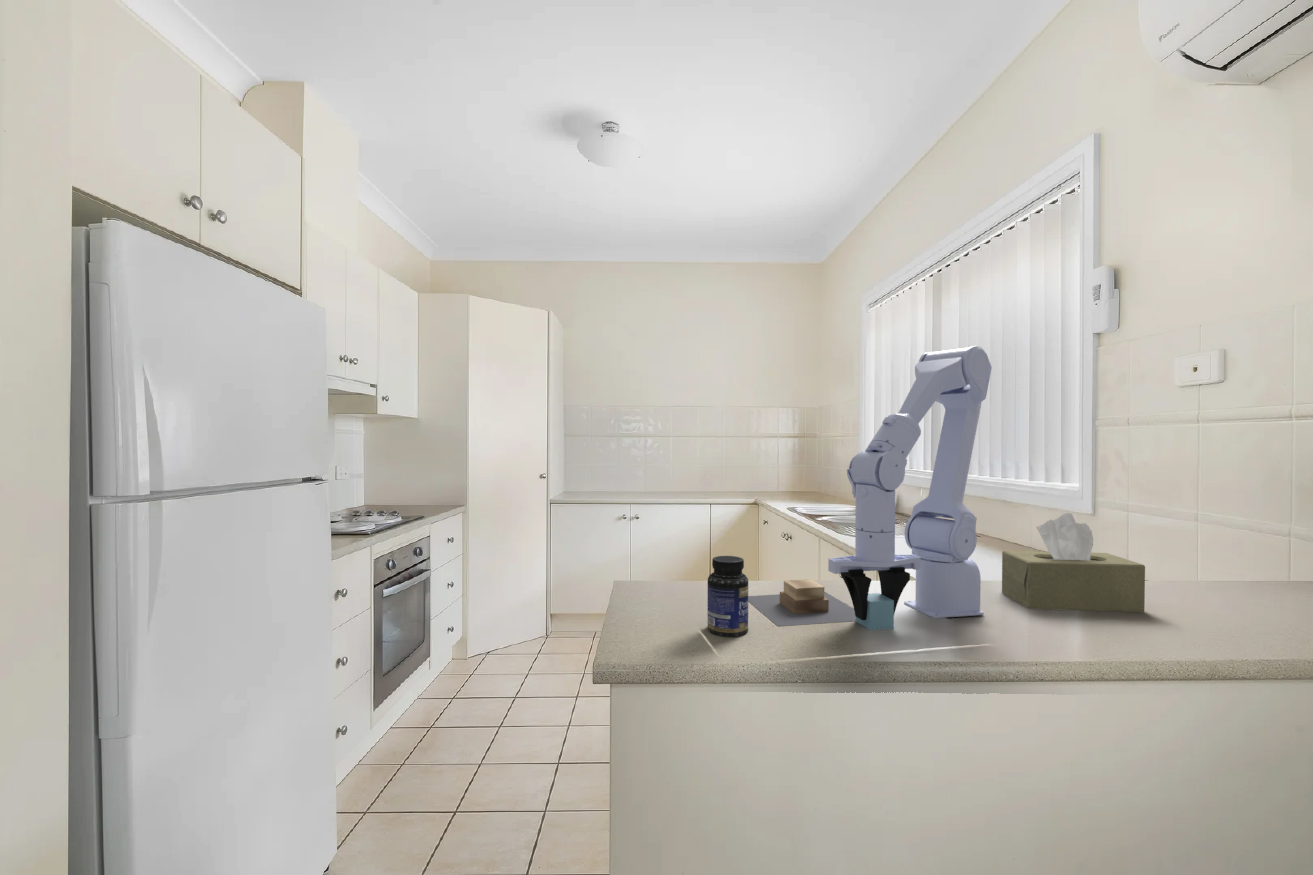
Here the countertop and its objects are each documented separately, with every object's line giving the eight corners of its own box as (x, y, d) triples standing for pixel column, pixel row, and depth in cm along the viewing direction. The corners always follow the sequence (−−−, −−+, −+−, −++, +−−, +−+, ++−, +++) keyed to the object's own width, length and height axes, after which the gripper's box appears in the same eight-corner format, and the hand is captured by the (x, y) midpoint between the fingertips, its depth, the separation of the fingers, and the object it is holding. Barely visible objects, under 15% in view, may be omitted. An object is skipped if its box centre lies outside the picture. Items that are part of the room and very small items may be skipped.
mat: (824, 593, 108) (824, 591, 108) (872, 621, 92) (872, 619, 92) (742, 598, 105) (742, 596, 105) (777, 628, 89) (777, 626, 89)
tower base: (811, 601, 102) (812, 589, 102) (828, 611, 96) (828, 599, 96) (779, 603, 101) (779, 591, 101) (794, 614, 95) (794, 601, 95)
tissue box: (1108, 596, 107) (1109, 510, 107) (1147, 613, 97) (1148, 518, 97) (999, 593, 109) (1000, 508, 109) (1027, 609, 99) (1028, 516, 99)
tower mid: (810, 590, 101) (810, 579, 101) (824, 599, 97) (824, 587, 97) (783, 592, 101) (783, 580, 100) (796, 600, 96) (796, 588, 96)
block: (878, 621, 92) (878, 593, 92) (893, 629, 89) (893, 600, 88) (855, 622, 92) (855, 594, 92) (869, 631, 88) (869, 601, 88)
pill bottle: (747, 640, 84) (747, 564, 84) (705, 637, 85) (705, 562, 85) (749, 626, 90) (749, 555, 90) (709, 623, 91) (709, 553, 91)
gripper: (901, 523, 95) (901, 606, 95) (819, 526, 92) (818, 611, 93) (929, 531, 88) (929, 620, 89) (841, 534, 85) (841, 626, 86)
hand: (874, 617), depth 90 cm, fingers closed on block, 4 cm apart
